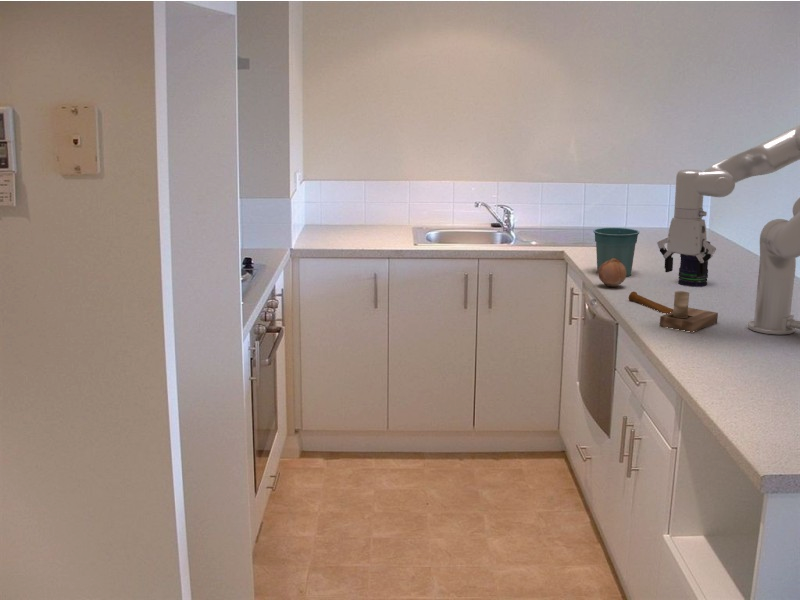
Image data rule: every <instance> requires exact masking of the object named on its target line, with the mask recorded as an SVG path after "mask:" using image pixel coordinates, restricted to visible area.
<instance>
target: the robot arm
mask: <svg viewBox="0 0 800 600" xmlns="http://www.w3.org/2000/svg"><path fill="white" fill-rule="evenodd" d="M799 160H800V124H798V125H796V126H794V127H793V128H790V129H788V130H786V131H784V132H782V133H781V134H778V135H777V136H775V137H773V138H771V139H769V140H767V141H764V142H762V143H761V144H758V145H756V146H754V147H750V148H749V149H746V150H744V151H742V152H740V153H737V154H735V155H732V156H729V157H728V158H725V159H723V160H721V161H720V162H718V163H715V164H714V165H711V166H710V167H708V168H706V170H704V171H702V170H700V169H681V170H679V171H677V173H676V178H675V194H674V195H675V196H674V199H675V200H674V209H673V210H674V212H673V217H672V218H671V221H670V224H669V228H668V235H667V237H666V238H664V239H661V240H659V241H656V243H657V244H656V245H657V246H658V249H659V252H660V254H661V255H662V256H663V259H664V269H665V271H664V272H665V273H670V272H672V271H673V268H674V267H673V266H674V257H673V255H674V254H677V255H678V254H679V255H680V254H686V255H696V257H697V258H698V260H699V263H698V265H697V276H698V277H701V276H704V274H705V270H706V262H707V261H708V262H709V260H710V259H711V258H712V257H714V256H713V255H714V254H715V253H716V251H717V247H716V246H714V245H713V244H711V243H710V244H709V243H708V242H707V241H708V240H707V226H706V219H704V218H703V217H707V216H708V215H707V214H708V213H707V211H704V208H703V206H704V205H703V204H704V196H705V197H713V198H724V197H728V196H729V195H730V194H732V193H733V191H734V190H735V187H736V184H737V183H739V182H741V181H743V180H746V179H748V178H752V177H757V176H765V175H768V174H769V175H770V174H772V173H776V172H777V171H779V170H781V169H784V168H785V167H787V166H790V164H793V163H795V162H797V161H799ZM792 215H793V216H792V217H791V218H790V219H789V220H787V219H783V218H776V219H772V220H770V221H768V222H767V223H766V224H765V225H764V226H763V228H762V229H761V232H760V234H759V265H758V266H759V267H758V276H757V285H756V296H755V297H756V298H755V307H754V317H753V320H751V321H749V322H747V328H748V329H749V330H751V331H754V332H757V333H761V334H762V333H763V334H766V335H791V334H794V333H795V331H796V330H800V320H796V319H795V317H794V316H795V315H794V314H792V313H791V312H792V303H793V295H794V294H793V292H794V285H795V278H796V277H795V276H796V268H797V267H796V265H797V263H796V262H797V260H796V259H797V258H799V257H800V197H798V198H797V200H796V201H795V202H794V203H793V206H792ZM666 244H667V245H666ZM665 245H666V247H667V248H666V247H665ZM706 248H707V249H708V250H709V252H708V254H707V255H705V254H704V253H705V252H706ZM795 329H796V330H795Z"/></svg>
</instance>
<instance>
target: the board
mask: <svg viewBox="0 0 800 600" xmlns="http://www.w3.org/2000/svg"><path fill="white" fill-rule="evenodd" d="M687 316H688V318H687V319H685V320H683V319H678V318H673V312H671V313H668V314H663V315H661V316H659V317H660V318H659V327H660V326H661V328H665V327H668V328H667V329H670V328H673V329H672V330H675V329H679V330H678V331H681V330H685V331H684V332H686V331H690V332H689V333H691V332H693V331H695V332H697V331H696V330H698V331H700V330H702V329H701V328H703V329H705V328H707V327H706V326H708V327H710V326H712V324H713V325H714V323H715V324H717V323H718V316H719V312H716V311H711V310H710V311H709V310H703V309H700V308H694V307H688V315H687ZM709 325H710V326H709ZM704 327H705V328H704ZM699 329H700V330H699ZM693 333H694V332H693Z"/></svg>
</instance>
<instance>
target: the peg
mask: <svg viewBox="0 0 800 600" xmlns="http://www.w3.org/2000/svg"><path fill="white" fill-rule="evenodd" d="M673 296H674V298H673V308H672V309H673V318H678V319H683V320H685V319H687V318H688V316H687V315H688V308H689V302H690V292H688V291H683V290H677V291H675V292H674V295H673Z"/></svg>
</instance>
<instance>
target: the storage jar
mask: <svg viewBox="0 0 800 600" xmlns="http://www.w3.org/2000/svg"><path fill="white" fill-rule="evenodd" d="M707 242H708V243H709V244H711V241H708V240H707ZM708 252H709V250H708V249H707V248H706V252H705V253H704V254H705V255H707V254H708ZM679 255H680V264H679V268H678V274H677V275H678V281H677V282H678V285H681V286H684V287H693V288H701V287H706V286H708V278H709V269H708V266H709V260H708V261H707V262H706V270H705V274H704V276H701V277H698V276H697V265H698V263H699V260H698V258H697V257H696V255H686V254H679Z"/></svg>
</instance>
